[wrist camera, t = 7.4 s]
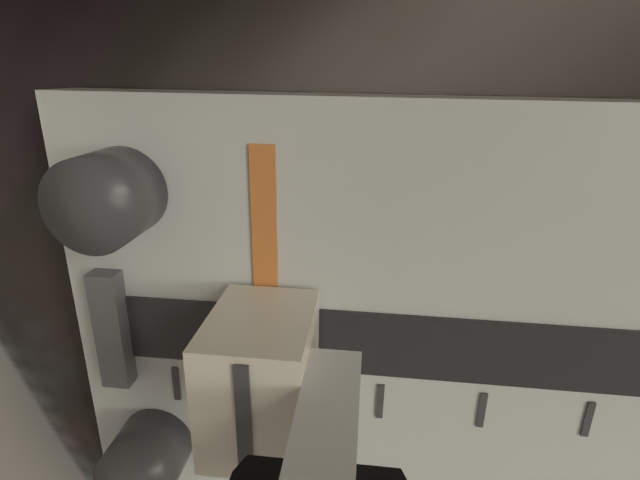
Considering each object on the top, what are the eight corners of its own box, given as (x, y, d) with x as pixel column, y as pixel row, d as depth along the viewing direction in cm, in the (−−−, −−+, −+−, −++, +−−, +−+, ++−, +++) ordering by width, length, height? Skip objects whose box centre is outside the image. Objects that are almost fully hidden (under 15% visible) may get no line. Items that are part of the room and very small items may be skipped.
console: (74, 87, 16) (-25, 93, 12) (775, 101, 14) (935, 114, 10) (132, 452, 21) (78, 537, 18) (639, 504, 19) (706, 615, 15)
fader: (229, 284, 15) (180, 354, 12) (319, 289, 15) (300, 364, 11) (235, 384, 17) (193, 477, 13) (318, 391, 16) (300, 489, 13)
